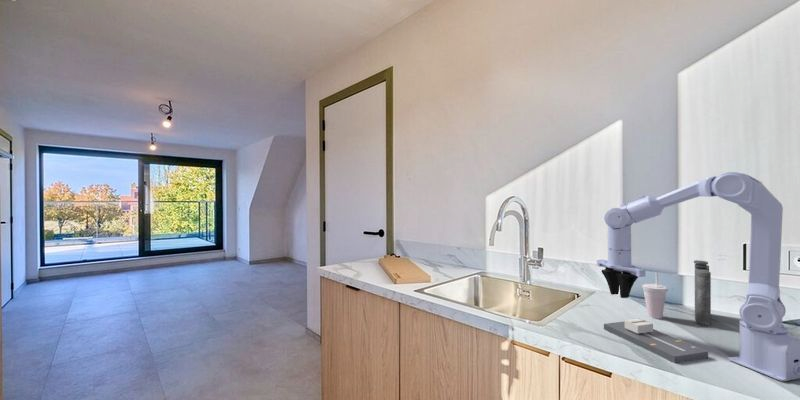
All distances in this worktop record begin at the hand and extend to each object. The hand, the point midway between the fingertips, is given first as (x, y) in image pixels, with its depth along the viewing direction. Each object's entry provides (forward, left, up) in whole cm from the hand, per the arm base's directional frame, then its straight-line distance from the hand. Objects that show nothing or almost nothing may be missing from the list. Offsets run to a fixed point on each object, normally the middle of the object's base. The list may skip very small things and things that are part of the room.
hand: (619, 295), depth 96 cm
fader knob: (-6, 0, -8) cm, 10 cm away
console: (-10, 0, -9) cm, 13 cm away
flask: (-1, -30, -10) cm, 32 cm away
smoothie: (+4, -18, -10) cm, 21 cm away
